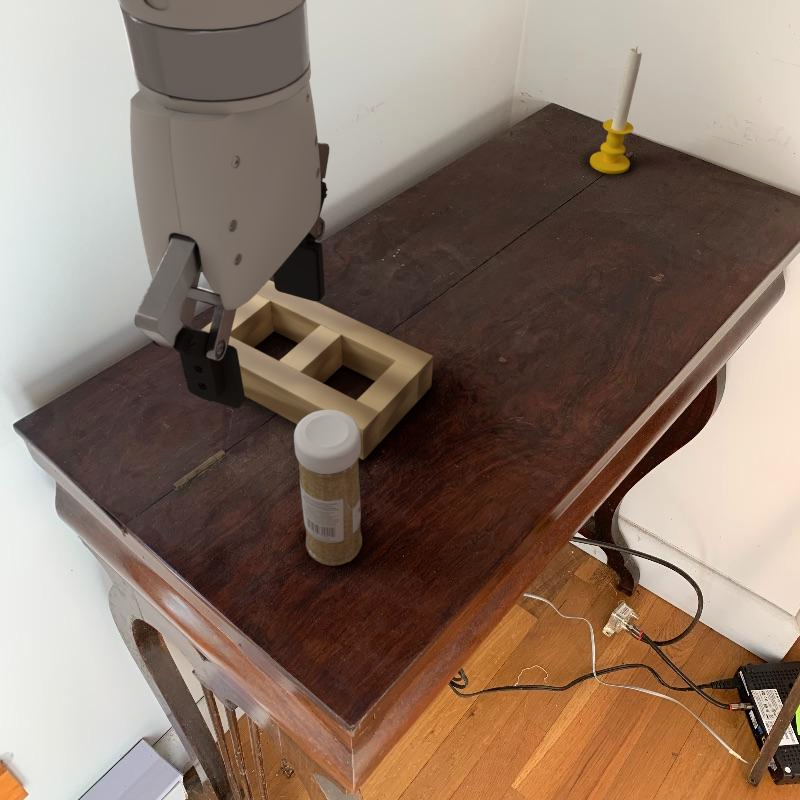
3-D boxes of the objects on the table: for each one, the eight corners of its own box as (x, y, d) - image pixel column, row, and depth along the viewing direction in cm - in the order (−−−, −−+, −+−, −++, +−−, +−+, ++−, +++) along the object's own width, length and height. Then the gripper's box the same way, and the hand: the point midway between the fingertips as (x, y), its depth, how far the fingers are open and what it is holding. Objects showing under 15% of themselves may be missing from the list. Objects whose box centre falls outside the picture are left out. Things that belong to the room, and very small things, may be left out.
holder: (363, 460, 70) (363, 430, 67) (195, 369, 78) (189, 338, 75) (431, 386, 77) (433, 356, 74) (271, 309, 84) (267, 278, 81)
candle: (623, 154, 109) (652, 37, 98) (633, 174, 105) (664, 55, 94) (585, 154, 109) (610, 37, 98) (594, 174, 105) (621, 55, 94)
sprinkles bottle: (373, 541, 64) (374, 429, 55) (334, 578, 62) (327, 467, 52) (332, 510, 66) (326, 397, 57) (292, 545, 64) (279, 432, 54)
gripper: (244, -35, 41) (274, 247, 53) (7, 111, 29) (116, 426, 42) (380, -12, 39) (379, 274, 51) (184, 153, 28) (243, 469, 40)
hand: (261, 342), depth 46 cm, fingers open, 9 cm apart
